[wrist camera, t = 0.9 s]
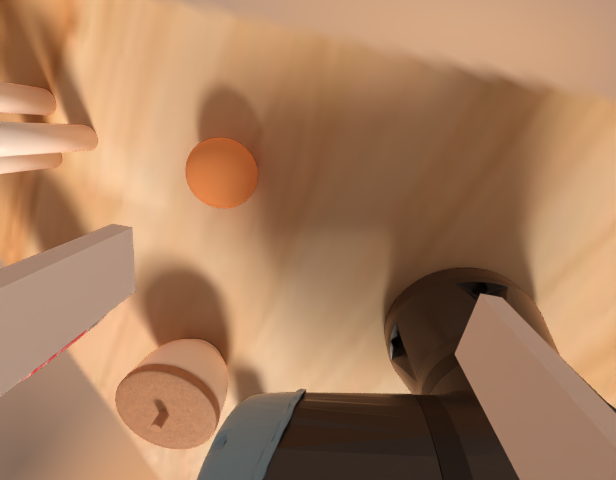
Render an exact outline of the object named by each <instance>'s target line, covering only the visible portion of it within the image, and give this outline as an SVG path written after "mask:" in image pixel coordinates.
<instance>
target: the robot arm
mask: <svg viewBox="0 0 616 480" xmlns="http://www.w3.org/2000/svg"><path fill="white" fill-rule="evenodd" d="M135 291H136V284H135V267H134V249H133V232H132V227H127V226H122V225H116V224H111V225H108V226H106V227H103V228H101V229H98V230H96V231H94V232H91V233H89V234H86V235H84V236H81V237H79V238H76V239H74V240H71V241H69V242H66V243H64V244H61V245H59V246H56V247H54V248H51V249H49V250H46V251H44V252H41V253H39V254H37V255H34V256H32V257H29V258H27V259H24V260H22V261H19V262H17V263H14V264H12V265H9V266H7V267H4V268H2V269H0V397H1V396H2V395H3V394H4V393H6V392H7V391H8V390H10V389H11V388H12V387H13V386H15V385H16V384H17V383H19V382H20V381H21V380H22V379H24V378H25V377H26V376H28V375H29V374H30V373H31V372H33V371H34V370H35V369H37V368H38V367H39V366H40V365H42V364H43V363H44V362H45V361H47V360H48V359H49V358H51V357H52V356H53V355H54V354H56V353H57V352H58V351H60V350H61V349H62V348H63V347H65V346H66V345H67V344H69V343H70V342H71V341H72V340H74V339H75V338H76V337H78V336H79V335H80V334H81V333H83V332H84V331H85V330H87V329H88V328H89V327H90V326H92V325H93V324H94V323H96V322H97V321H98V320H99V319H101V318H102V317H103V316H104V315H106V314H107V313H108V312H110V311H111V310H112V309H113V308H115V307H116V306H117V305H119V304H120V303H121V302H122V301H124V300H125V299H126V298H128V297H129V296H130V295H131V294H133V293H134V292H135ZM385 342H386V346H387V350H388V355H389V358H390V361H391V363H392V365H393V367H394V369H395V371H396V372H397V374H398V375H399V377H400V378H401V379H402V381H403V382H404V383H405V385H406V386H407V388H408V389H409V390H410V392H411V393H412V394H377V393H306V389H299V390H297V391H296V392H283V393H261V394H255V395H252V396H250V397H248V398H246V399H245V400H243V401H242V402H241V403H240V404H239V405H237V406H236V407H235V408H234V410H233V411H232V412H231V413H230V415H229V416H228V417H227V419H226V420H225V422H224V423H223V425H222V427H221V428H220V430H219V431H218V433H217V435H216V437H215V439H214V441H213V443H212V445H211V448H210V450H209V452H208V454H207V456H206V458H205V460H204V463H203V465H202V468H201V470H200V473H199V475H198V478H197V480H616V409H615V408H614V407H613V406H611V405H610V404H609V403H607V402H606V401H605V400H604V399H603V398H602V397H601V396H600V395H599V394H598V393H597V392H596V391H595V390H594V389H593V388H592V387H591V386H590V385H589V384H588V383H587V382H586V381H585V380H584V379H583V378H582V377H581V376H580V375H579V374H578V373H577V372H575V371H574V370H573V369H572V368H571V367H570V366H569V365H568V364H567V363H566V362H565V361H564V360H563V358H562V357H561V356H560V355H559V352H558V350H557V348H556V346H555V343H554V341H553V339H552V336H551V334H550V332H549V330H548V327H547V325H546V323H545V321H544V318H543V316H542V314H541V312H540V310H539V309H538V307H537V306H536V305H535V303H534V302H533V301H532V300H531V298H530V297H529V296H528V295H526V294H525V293H524V292H523V291H522V290H521V289H520V288H518V287H517V286H516V285H515V284H514V283H512V282H511V281H510V280H508V279H506V278H505V277H503V276H501V275H498V274H496V273H493V272H490V271H487V270H482V269H475V268H455V269H448V270H444V271H440V272H436V273H433V274H431V275H428V276H426V277H424V278H422V279H420V280H418V281H417V282H415V283H414V284H412V285H411V286H410V287H408V288H407V289H406V290H405V291H404V292H403V293H402V294H401V295H400V296H399V297H398V298H397V299H396V301H395V302H394V304H393V305H392V307H391V309H390V311H389V313H388V315H387V319H386V323H385Z"/></svg>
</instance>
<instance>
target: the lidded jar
mask: <svg viewBox="0 0 616 480" xmlns="http://www.w3.org/2000/svg"><path fill="white" fill-rule="evenodd" d="M228 384H229V378H228V371H227V367H226V364H225V362H224V360H223V358H222V356H221V354H220V352H219V351H218V349H217V348H216V347H215V346H214V345H212V344H211V343H209V342H207V341H205V340H202V339H196V338H192V339H179V340H175V341H171V342H168V343H166V344H164V345H162V346H160V347H158V348H157V349H155V350H154V351H153V352H151V353H150V354H149V355H148V356H146V357H145V358H144V359H143V360H142V361H141V362H140V363H139V364H138V365H137V366H136V367H135V368H134V370H133V371H131V372H130V373H129V374H128V375H127V376H126V377H125V378H124V379H123V380H122V381H121V383H120V384H119V386H118V388H117V391H116V399H115V401H116V407H117V410H118V413H119V415H120V416H121V418H122V420H123V421H124V423H125V424H126V425H127V426H128V427H129V428H130V429H131V430H132V431H133V432H134V433H135V434H137V435H138V436H140V437H141V438H143V439H145V440H146V441H148V442H150V443H153V444H155V445H158V446H161V447H165V448H170V449H189V448H194V447H197V446H199V445H201V444H203V443H205V442H206V441H207V440H209V439H210V437H211V436H212V435H213V434H214V432H215V430H216V427H217V425H218V422H219V418H220V415H221V413H222V410H223V407H224V404H225V400H226V397H227V392H228Z"/></svg>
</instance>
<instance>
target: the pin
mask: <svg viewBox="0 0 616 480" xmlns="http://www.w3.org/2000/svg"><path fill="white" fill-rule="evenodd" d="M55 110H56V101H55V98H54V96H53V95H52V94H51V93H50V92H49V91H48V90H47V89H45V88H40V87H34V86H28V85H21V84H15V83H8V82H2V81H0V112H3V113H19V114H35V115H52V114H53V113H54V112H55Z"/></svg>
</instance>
